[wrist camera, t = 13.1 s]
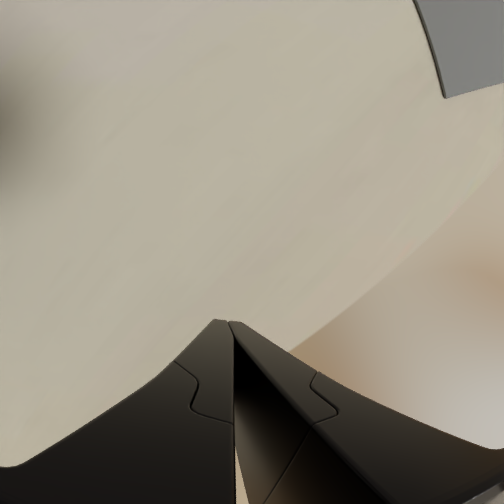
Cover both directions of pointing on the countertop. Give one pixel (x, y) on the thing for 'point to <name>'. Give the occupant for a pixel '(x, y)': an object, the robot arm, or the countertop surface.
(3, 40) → the countertop surface
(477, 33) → the mat
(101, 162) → the countertop surface
